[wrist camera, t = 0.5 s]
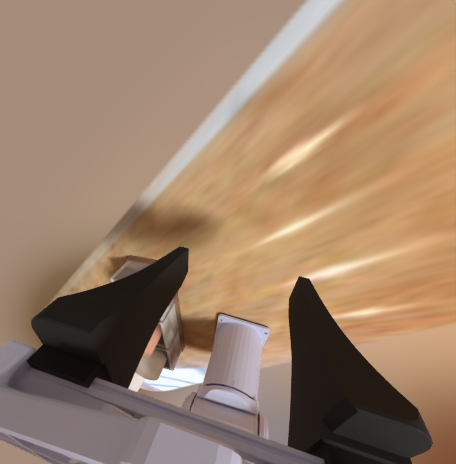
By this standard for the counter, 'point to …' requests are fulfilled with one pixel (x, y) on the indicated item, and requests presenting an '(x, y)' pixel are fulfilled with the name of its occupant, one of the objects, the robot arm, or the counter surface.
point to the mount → (170, 319)
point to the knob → (152, 365)
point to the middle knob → (153, 342)
